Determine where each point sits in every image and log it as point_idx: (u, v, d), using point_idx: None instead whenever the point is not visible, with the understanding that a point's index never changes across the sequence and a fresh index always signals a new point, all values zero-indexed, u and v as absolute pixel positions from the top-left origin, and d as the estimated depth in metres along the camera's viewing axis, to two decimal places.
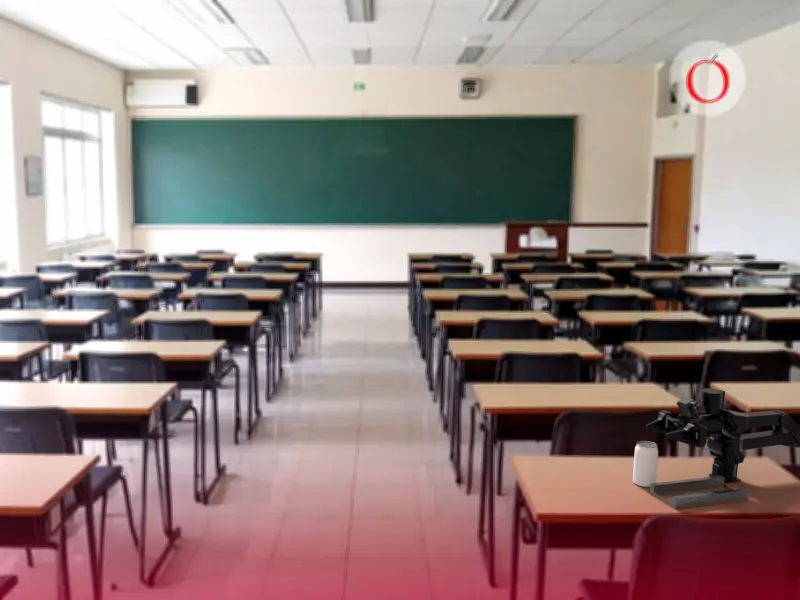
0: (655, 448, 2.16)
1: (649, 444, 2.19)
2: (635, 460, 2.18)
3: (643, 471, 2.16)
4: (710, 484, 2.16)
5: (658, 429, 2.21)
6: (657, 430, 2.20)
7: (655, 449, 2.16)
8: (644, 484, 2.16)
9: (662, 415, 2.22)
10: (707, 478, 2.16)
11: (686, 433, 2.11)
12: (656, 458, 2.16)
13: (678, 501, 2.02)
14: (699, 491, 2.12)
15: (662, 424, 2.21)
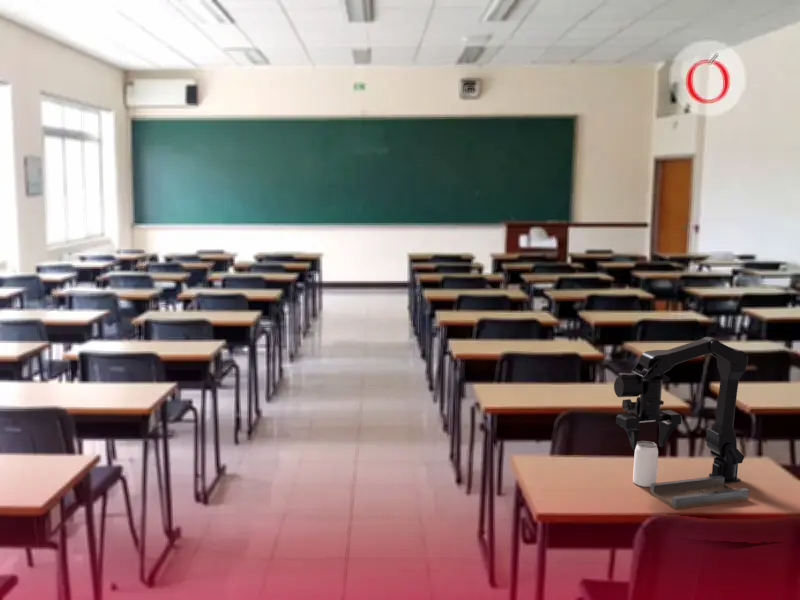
0: (655, 448, 2.16)
1: (649, 444, 2.19)
2: (635, 460, 2.18)
3: (643, 471, 2.16)
4: (710, 484, 2.16)
5: (664, 433, 2.18)
6: (665, 435, 2.18)
7: (655, 449, 2.16)
8: (644, 484, 2.16)
9: None
10: (707, 478, 2.16)
11: None
12: (656, 458, 2.16)
13: (678, 501, 2.02)
14: (699, 491, 2.12)
15: (662, 427, 2.19)
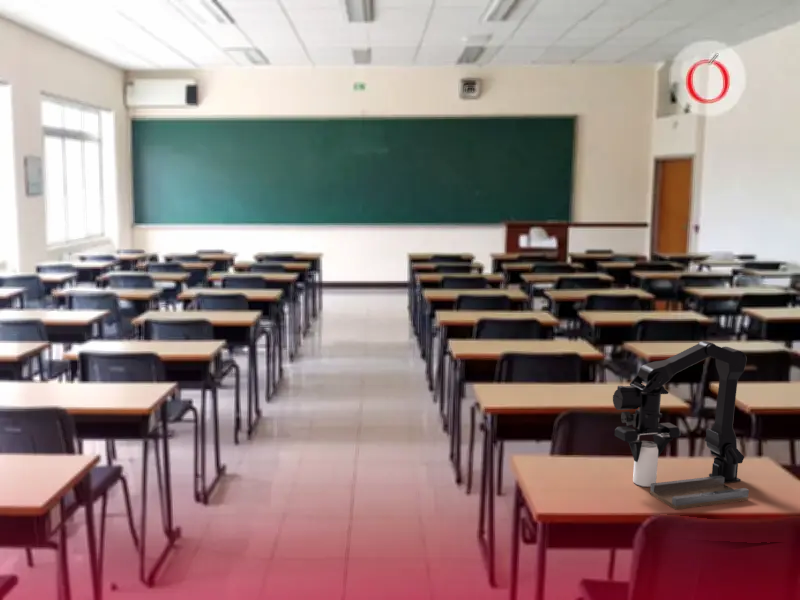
0: (655, 448, 2.16)
1: (649, 444, 2.19)
2: None
3: (643, 471, 2.16)
4: (710, 484, 2.16)
5: (659, 446, 2.18)
6: (659, 448, 2.18)
7: (655, 449, 2.16)
8: (644, 484, 2.16)
9: None
10: (707, 478, 2.16)
11: None
12: (656, 458, 2.16)
13: (678, 501, 2.02)
14: (699, 491, 2.12)
15: (657, 440, 2.19)
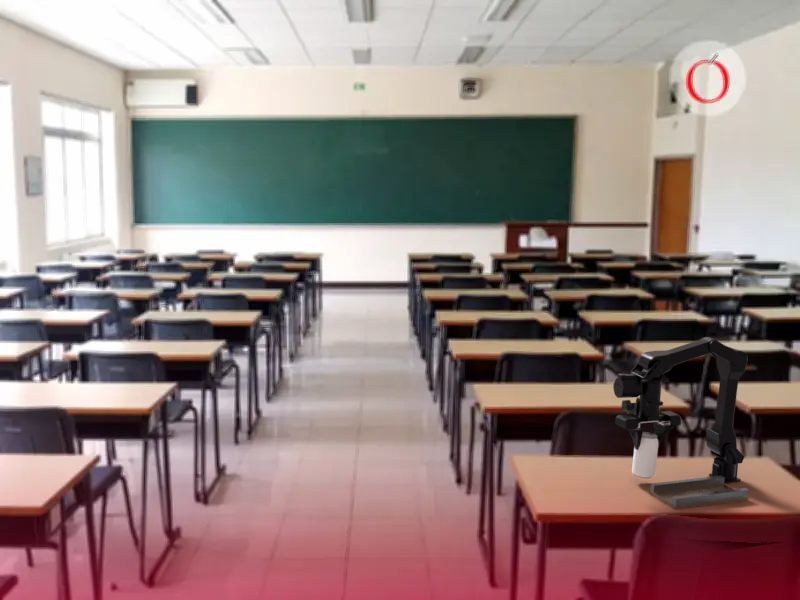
0: (655, 439, 2.16)
1: (649, 435, 2.18)
2: (635, 451, 2.18)
3: (643, 462, 2.16)
4: (710, 484, 2.16)
5: (659, 435, 2.17)
6: (660, 436, 2.17)
7: (655, 440, 2.15)
8: (643, 475, 2.16)
9: None
10: (707, 478, 2.16)
11: None
12: (656, 449, 2.16)
13: (678, 501, 2.02)
14: (699, 491, 2.12)
15: (658, 428, 2.18)
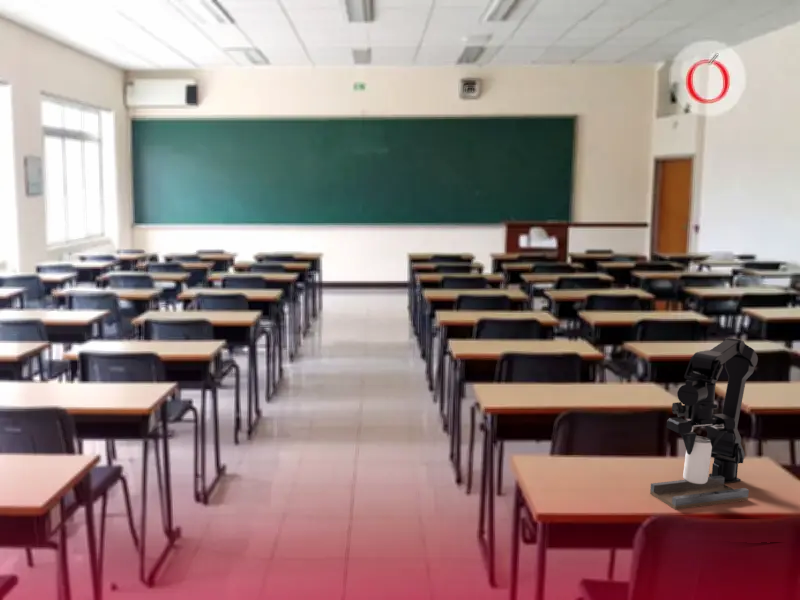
0: (709, 444, 2.06)
1: (702, 439, 2.08)
2: (687, 455, 2.08)
3: (695, 467, 2.06)
4: (710, 484, 2.16)
5: (713, 439, 2.08)
6: (713, 440, 2.08)
7: (709, 445, 2.06)
8: (696, 481, 2.07)
9: None
10: None
11: None
12: (710, 454, 2.06)
13: (678, 501, 2.02)
14: (699, 491, 2.12)
15: (711, 431, 2.09)
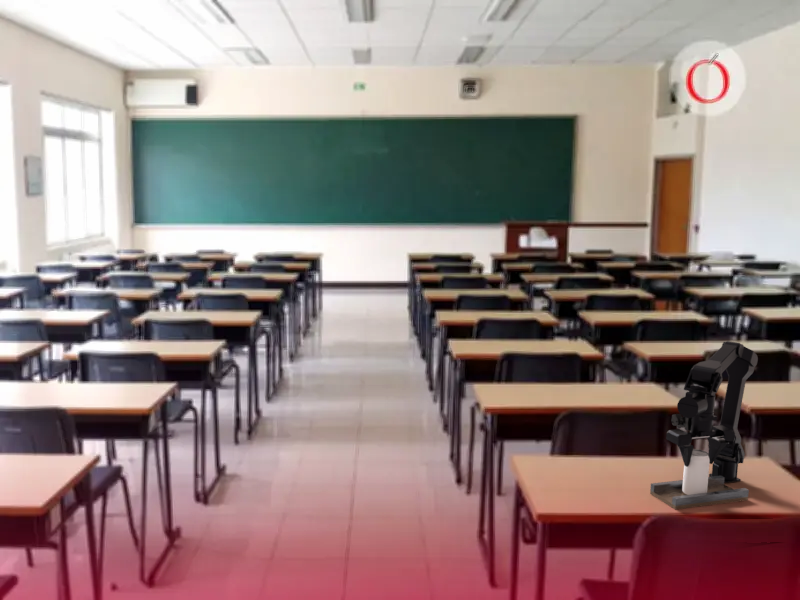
0: (707, 457, 2.07)
1: (700, 452, 2.09)
2: (685, 469, 2.09)
3: (694, 481, 2.07)
4: (710, 484, 2.16)
5: (714, 450, 2.08)
6: (715, 452, 2.08)
7: (707, 458, 2.07)
8: None
9: None
10: None
11: None
12: (708, 467, 2.07)
13: (678, 501, 2.02)
14: None
15: (712, 443, 2.09)
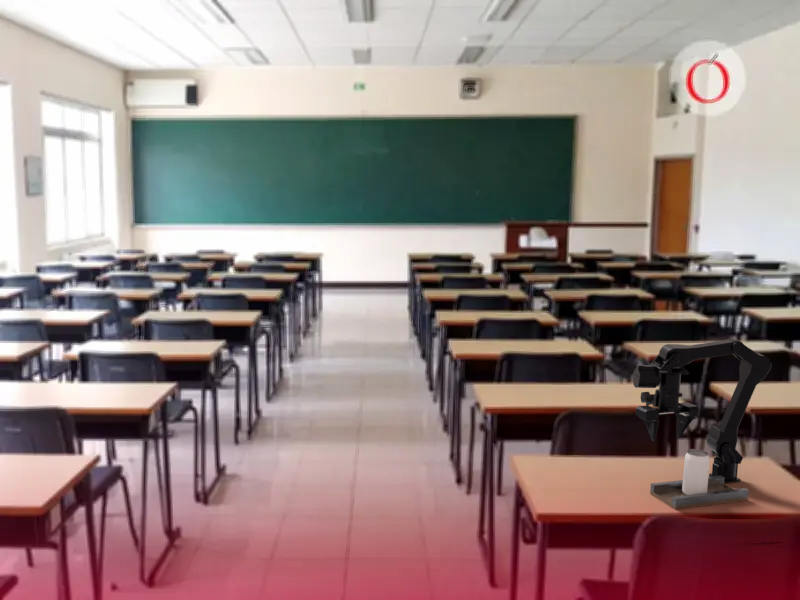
0: (707, 457, 2.07)
1: (700, 452, 2.09)
2: (685, 469, 2.09)
3: (694, 481, 2.07)
4: (710, 484, 2.16)
5: (682, 425, 2.22)
6: (683, 426, 2.22)
7: (707, 458, 2.06)
8: None
9: None
10: None
11: None
12: (708, 467, 2.07)
13: (678, 501, 2.02)
14: None
15: (680, 418, 2.23)
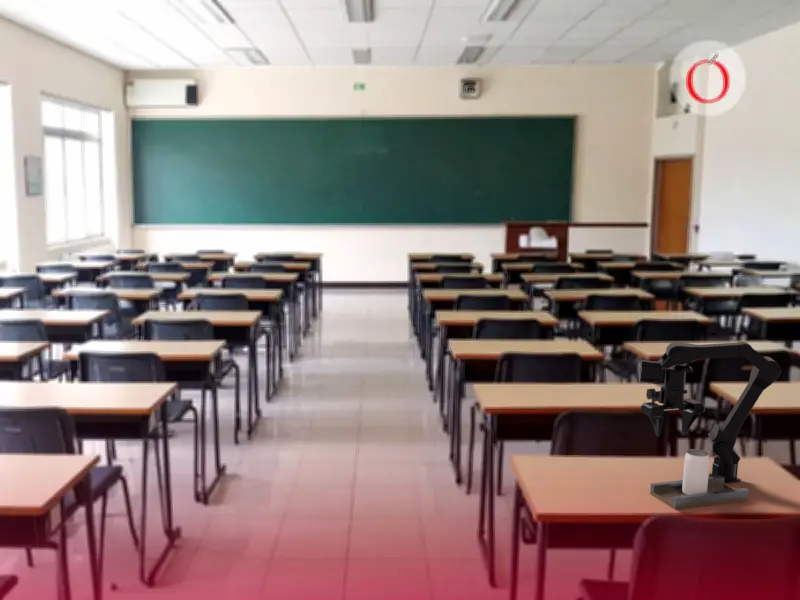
0: (706, 457, 2.07)
1: (699, 452, 2.09)
2: (685, 469, 2.09)
3: (694, 481, 2.07)
4: (710, 484, 2.16)
5: (687, 421, 2.26)
6: (688, 423, 2.26)
7: (706, 458, 2.07)
8: None
9: None
10: None
11: None
12: (707, 467, 2.07)
13: (678, 501, 2.02)
14: None
15: (685, 415, 2.27)
